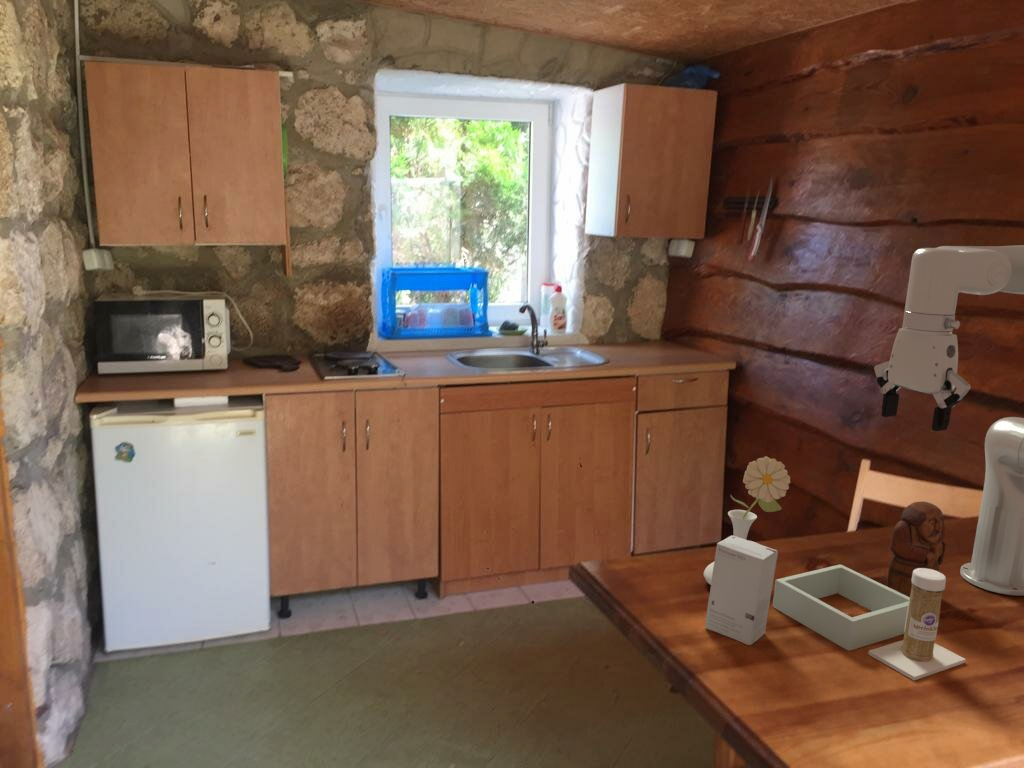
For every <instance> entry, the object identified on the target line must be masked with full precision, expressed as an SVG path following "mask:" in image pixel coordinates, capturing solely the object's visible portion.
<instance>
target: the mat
mask: <svg viewBox="0 0 1024 768" xmlns="http://www.w3.org/2000/svg"><path fill="white" fill-rule="evenodd" d="M903 640H904V639H902V640H899V641H895V642H891V643H889V644H885V645H883V646H880V647H876V648H873V649H870V650H868V652H867V653H868V656H870V657H872V658H874V659H876V660H877V661H879V662H881V663H882V664H885V665H886V666H888V667H890V668H891V669H893V670H894V671H896V672H898V673H900V674H902V675H903V676H905V677H907V678H908V679H910V680H912V681H917V680H919V679H923V678H925V677H929V676H931V675H934V674H936V673H939V672H942V671H946V670H948V669H951V668H954V667H956V666H959V665H962V664H964V663H966V658H965V657H962V656H960V655H958V654H957V653H955V652H953V651H951V650H949V649H947V648H946V647H943V646H941V645H939V644H937V643H936V642H934V649H933V658H932V659H931V660H929V661H921V660H915V659H913V658H910V657H908V656H906V655H905V654H904V653H903V652H902V650H901V647H902V645H903Z"/></svg>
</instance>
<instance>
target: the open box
mask: <svg viewBox="0 0 1024 768" xmlns="http://www.w3.org/2000/svg"><path fill="white" fill-rule="evenodd" d="M773 591H774V592H773V598H772V606H771V607H772V608H774V609H776V610H778V611H779V612H781V613H782V614H784V615H786V616H788V617H789V618H790V619H793V620H794V621H796V622H798V623H800V624H802V625H803V626H805V627H807V628H808V629H810V630H811V631H813V632H815V633H817V634H819V635H820V636H822V637H824V638H826V639H827V640H828V641H831V642H832V643H834V644H836V645H838V646H839V647H841V648H842V649H845V650H847V651H848V652H850V651H852V650H856V649H859V648H862V647H865V646H869V645H872V644H876V643H878V642H882V641H885V640H888V639H893V638H896V637H898V636H901V635H904V633H905V632H904V629H905V623H906V616H907V609H908V603H909V600H910V597H908V596H906V595H904V594H902V593H899V592H897V591H895V590H893V589H891V588H889V587H887V585H885V584H882V583H880V582H878V581H876V580H874V579H872V578H870V577H868V576H866V575H864V574H861V573H859V572H857V571H855V570H853V569H851V568H849V567H847V566H845V565H843V564H840V563H839V564H837V565H831V566H828V567H827V566H826V567H824V568H819V569H814V570H810V571H807V572H802V573H798V574H794V575H789V576H785V577H781V578H778V579H775V581H774V590H773ZM836 594H838V595H841V596H842V597H844V598H845V599H848V600H850V601H852V602H854V603H856V604H858V605H859V606H862V607H864V608H865V609H867V610H869V611H870V612H865V613H862V614H860V615H856V616H850V615H848V614H847V613H844V612H843V611H840V610H839V609H837V608H836V607H834V606H831V605H829V604H828V603H827V602H824V601H822V600H821V598H822V599H823V598H824V597H829V596H832V595H836Z"/></svg>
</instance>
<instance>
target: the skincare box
mask: <svg viewBox="0 0 1024 768" xmlns="http://www.w3.org/2000/svg"><path fill="white" fill-rule="evenodd" d="M778 554H779V551H778V550H777V549H774V548H771V547H768V546H766V545H763V544H760V543H758V542H755V541H752V540H748V539H746V540H745V539H742V538H739V537H736V536H734V534H733V535H729V536H727V537H726V538H725V539H723V540H721V541H719V542H717V543H716V547H715V554H714V561H713V562H714V568H713V574H712V581H711V585H710V587H709V588H710V589H709V590H710V591H709V594H708V595H709V596H708V601H707V608H706V609H707V610H706V614H705V615H706V616H705V622H704V623H705V624H704V626H705V629H707V630H709V631H710V632H711V631H712V632H715V633H718V634H720V635H722V636H725V637H728V638H730V639H733V640H736V641H738V642H740V643H741V644H745V645H747V646H752V645H753V644H754V643H755V642H756V641H758V640H759V639H760V638H761V637H763V636H764V635H765V633H766V629H767V622H768V614H769V609H770V604H771V597H772V591H773V585H774V579H775V572H776V566H777V560H778Z"/></svg>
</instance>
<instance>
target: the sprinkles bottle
mask: <svg viewBox="0 0 1024 768" xmlns="http://www.w3.org/2000/svg"><path fill="white" fill-rule="evenodd" d="M911 581H912V588H911V594H910V600H909V603H908V609H907V616H906V623H905V629H904V632H905V633H904V634H903V639H902V640H903V645H902V647H901V650H902V652H903V653H904V654H905V655H906V656H908V657H910V658H913V659H915V660H921V661H929V660H931V659H932V658H933V649H934V643H936V638H937V633H938V628H939V622H940V614H941V613H940V612H941V606H942V605H941V604H942V600H943V599H942V598H943V593H944V590H945V589H946V583H947V582H946V581H947V578H946V576H945V575H944V574H943V573H942V572H940V571H939V572H938V571H935V570H932V569H927V568H917V569H915V570H914V571H913V574H912V580H911Z"/></svg>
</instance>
